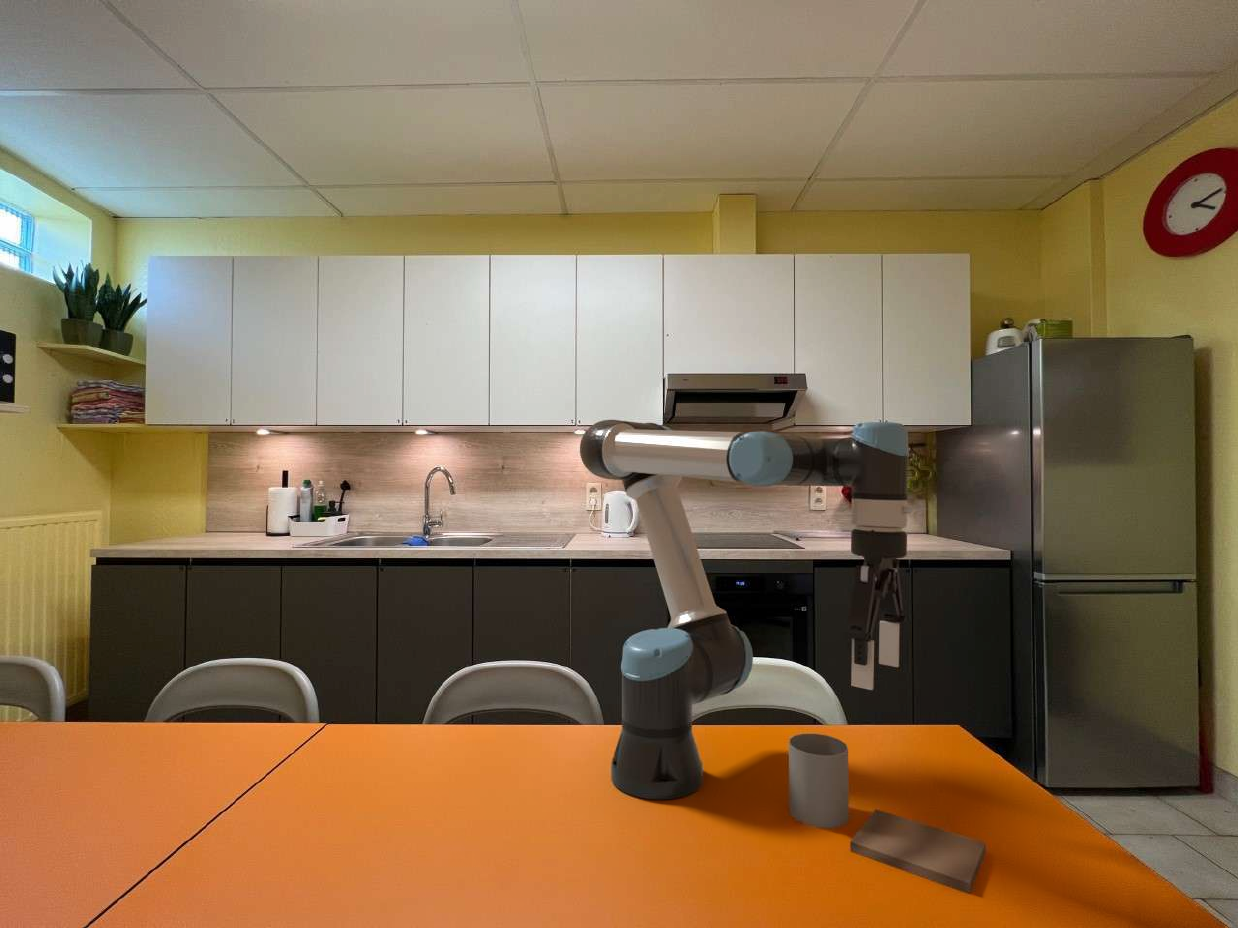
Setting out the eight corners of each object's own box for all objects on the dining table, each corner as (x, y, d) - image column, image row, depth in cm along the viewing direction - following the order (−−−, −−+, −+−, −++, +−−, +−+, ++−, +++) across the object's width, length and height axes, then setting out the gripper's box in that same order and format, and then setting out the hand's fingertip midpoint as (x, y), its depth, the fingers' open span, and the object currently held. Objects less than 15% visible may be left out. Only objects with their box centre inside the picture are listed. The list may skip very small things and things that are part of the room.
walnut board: (850, 850, 83) (850, 841, 83) (875, 817, 92) (875, 808, 92) (969, 893, 74) (969, 883, 74) (985, 852, 83) (985, 842, 83)
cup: (852, 831, 88) (851, 758, 88) (791, 824, 90) (791, 753, 90) (843, 801, 96) (842, 735, 97) (787, 796, 98) (787, 731, 98)
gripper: (882, 536, 79) (879, 705, 79) (925, 526, 99) (923, 661, 99) (823, 531, 84) (820, 691, 84) (876, 523, 104) (873, 652, 103)
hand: (876, 675), depth 91 cm, fingers open, 13 cm apart
